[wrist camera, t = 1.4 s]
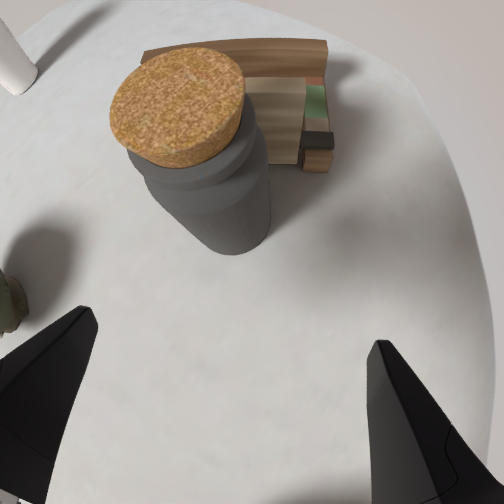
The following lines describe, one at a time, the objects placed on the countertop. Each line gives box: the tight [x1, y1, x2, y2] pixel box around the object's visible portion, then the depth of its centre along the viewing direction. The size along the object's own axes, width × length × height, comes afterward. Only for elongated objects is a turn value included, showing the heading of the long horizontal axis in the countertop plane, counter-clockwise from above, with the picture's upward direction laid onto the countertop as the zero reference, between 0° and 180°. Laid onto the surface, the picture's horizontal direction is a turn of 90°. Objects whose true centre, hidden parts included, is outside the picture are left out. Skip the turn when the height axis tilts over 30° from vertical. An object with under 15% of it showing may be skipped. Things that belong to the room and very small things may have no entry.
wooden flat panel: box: [245, 77, 334, 164], centre depth 19 cm, size 1×15×9 cm, turn 89°
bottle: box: [109, 47, 271, 255], centre depth 16 cm, size 6×6×15 cm
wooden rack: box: [140, 38, 333, 172], centre depth 22 cm, size 10×15×6 cm, turn 89°
